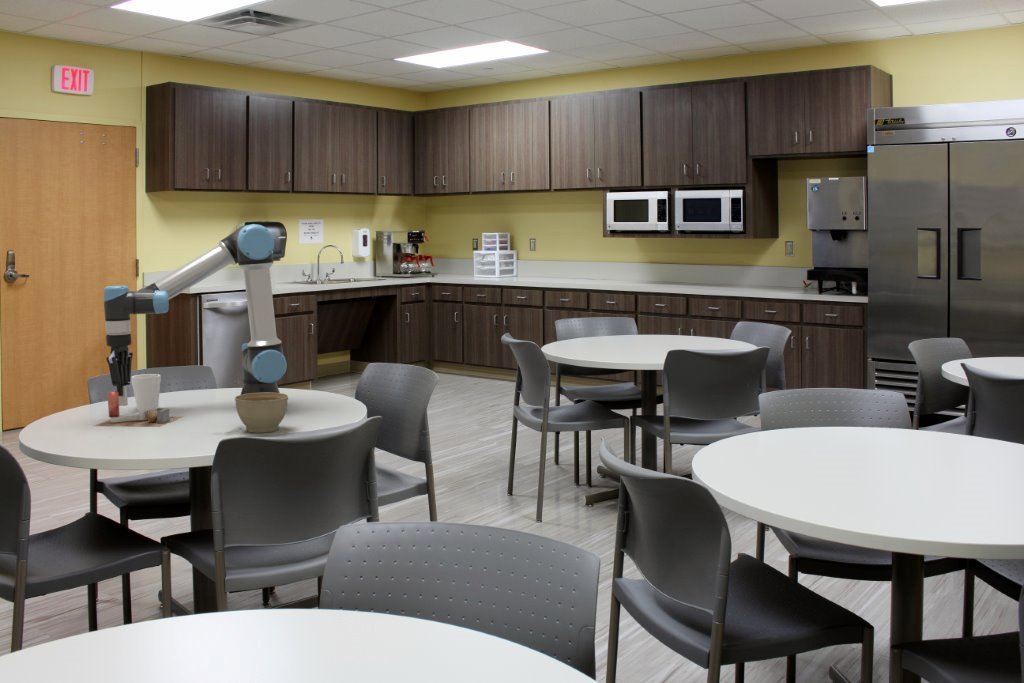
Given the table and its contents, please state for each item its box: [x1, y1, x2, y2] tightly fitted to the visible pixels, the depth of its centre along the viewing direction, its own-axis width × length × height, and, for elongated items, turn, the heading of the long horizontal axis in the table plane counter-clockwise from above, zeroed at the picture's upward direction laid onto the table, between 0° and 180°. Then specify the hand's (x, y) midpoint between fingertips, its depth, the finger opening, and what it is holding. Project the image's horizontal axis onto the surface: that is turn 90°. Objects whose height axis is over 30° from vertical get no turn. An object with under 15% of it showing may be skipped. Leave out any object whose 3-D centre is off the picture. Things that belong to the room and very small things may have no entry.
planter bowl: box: [234, 392, 289, 434], centre depth 297 cm, size 16×16×11 cm
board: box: [93, 407, 183, 428], centre depth 306 cm, size 22×17×5 cm
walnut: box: [147, 410, 157, 422], centre depth 304 cm, size 4×4×4 cm
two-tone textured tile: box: [156, 408, 171, 424], centre depth 303 cm, size 2×4×4 cm, turn 174°
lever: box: [107, 390, 157, 422], centre depth 306 cm, size 18×5×10 cm, turn 120°
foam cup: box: [130, 373, 162, 412], centre depth 328 cm, size 10×9×13 cm
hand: (122, 405), depth 309 cm, fingers closed
